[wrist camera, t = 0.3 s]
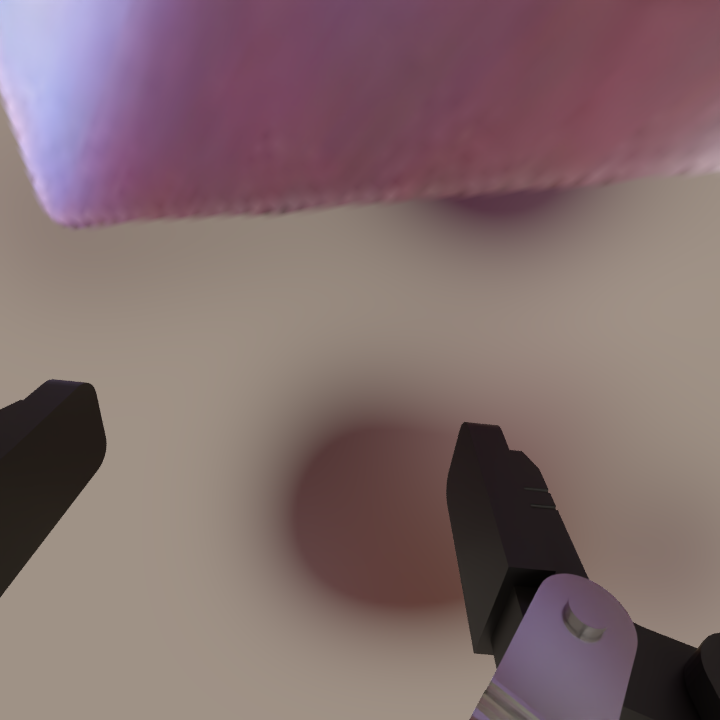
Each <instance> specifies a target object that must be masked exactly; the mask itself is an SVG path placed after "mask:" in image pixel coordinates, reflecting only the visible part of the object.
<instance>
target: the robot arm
mask: <svg viewBox="0 0 720 720" xmlns="http://www.w3.org/2000/svg"><path fill="white" fill-rule="evenodd" d="M105 452H106V436H105V431H104V427H103V423H102V418H101V413H100V408H99V404H98V399H97V394H96V391H95V389H94V387H93V386H92V385H91V384H89V383H84V382H74V381H63V380H54V379H52V380H48V381H46V382H45V383H44V384H42V385H41V386H40V387H39V388H37V389H36V390H35V391H34V392H33V393H31V394H30V395H29V396H28V397H27V398H25V399H24V400H19V401H17V402H15V403H13V404H11V405H9V406H7V407H5V408H3V409H0V597H1V596H2V594H3V593H4V592H5V590H6V589H7V588H8V586H9V585H10V584H11V583H12V581H13V580H14V579H15V577H16V576H17V575H18V573H19V572H20V571H21V570H22V568H23V567H24V566H25V564H26V563H27V562H28V560H29V559H30V558H31V556H32V555H33V554H34V553H35V551H36V550H37V549H38V547H39V546H40V545H41V543H42V542H43V541H44V539H45V538H46V537H47V536H48V534H49V533H50V531H51V530H52V529H53V528H54V526H55V525H56V524H57V523H58V521H59V520H60V518H61V517H62V516H63V515H64V513H65V512H66V511H67V509H68V508H69V507H70V506H71V504H72V503H73V502H74V500H75V499H76V498H77V496H78V495H79V494H80V492H81V491H82V490H83V489H84V487H85V486H86V485H87V483H88V482H89V481H90V479H91V478H92V477H93V476H94V474H95V473H96V472H97V470H98V469H99V467H100V466H101V464H102V462H103V459H104V456H105ZM446 492H447V493H446V494H447V495H446V496H447V505H448V511H449V516H450V522H451V528H452V533H453V539H454V545H455V550H456V556H457V561H458V567H459V572H460V578H461V583H462V589H463V594H464V600H465V606H466V612H467V617H468V623H469V628H470V634H471V639H472V645H473V651H474V653H477V654H488V655H494V658H495V663H496V668H497V670H496V672H495V674H494V676H493V678H492V680H491V682H490V684H489V686H488V687H487V689H486V690H485V692H484V693H483V695H482V697H481V699H480V701H479V703H478V704H477V706H476V708H475V710H474V712H473V714H472V716H471V718H470V720H720V633H716V634H712V635H710V636H708V637H707V638H706V639H705V640H704V641H703V642H702V643H701V645H700V646H699V647H698V648H695V647H692V646H690V645H687V644H685V643H682V642H679V641H677V640H674V639H672V638H669V637H667V636H664V635H661V634H659V633H656V632H654V631H651V630H649V629H646V628H644V627H641V626H639V625H637V624H636V623H634V622H632V620H631V618H630V616H629V614H628V613H627V611H626V610H625V609H624V607H623V606H622V605H621V604H620V602H619V601H617V599H616V598H615V597H614V596H613V595H611V594H610V593H609V592H608V591H607V590H605V589H604V588H603V587H601V586H600V585H598V584H596V583H594V582H593V581H591V580H589V578H588V577H587V574H586V572H585V570H584V568H583V565H582V564H581V561H580V559H579V557H578V554H577V552H576V550H575V548H574V545H573V543H572V541H571V539H570V537H569V534H568V532H567V530H566V528H565V525H564V523H563V521H562V519H561V517H560V515H559V512H558V510H556V509H555V507H556V505H555V503H554V501H553V499H552V497H551V494H550V493H548V488H547V485H546V483H545V481H544V479H543V477H542V474H541V472H540V470H539V468H538V467H537V466H536V465H535V464H534V463H533V462H532V461H531V460H530V459H529V458H528V457H527V456H526V455H525V454H524V453H523V452H522V451H513V450H509V448H508V445H507V443H506V440H505V438H504V435H503V433H502V430H501V428H500V427H499V426H498V425H487V424H478V423H468V422H464V423H463V424H462V425H461V428H460V431H459V435H458V439H457V443H456V446H455V450H454V454H453V458H452V462H451V466H450V469H449V473H448V478H447V490H446Z"/></svg>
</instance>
